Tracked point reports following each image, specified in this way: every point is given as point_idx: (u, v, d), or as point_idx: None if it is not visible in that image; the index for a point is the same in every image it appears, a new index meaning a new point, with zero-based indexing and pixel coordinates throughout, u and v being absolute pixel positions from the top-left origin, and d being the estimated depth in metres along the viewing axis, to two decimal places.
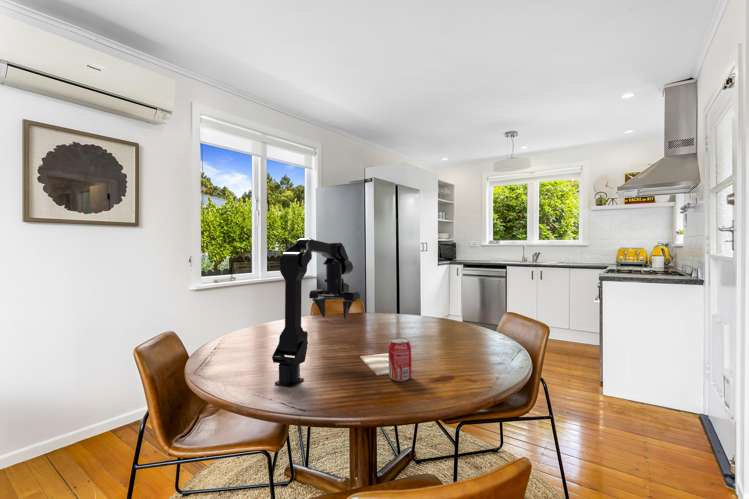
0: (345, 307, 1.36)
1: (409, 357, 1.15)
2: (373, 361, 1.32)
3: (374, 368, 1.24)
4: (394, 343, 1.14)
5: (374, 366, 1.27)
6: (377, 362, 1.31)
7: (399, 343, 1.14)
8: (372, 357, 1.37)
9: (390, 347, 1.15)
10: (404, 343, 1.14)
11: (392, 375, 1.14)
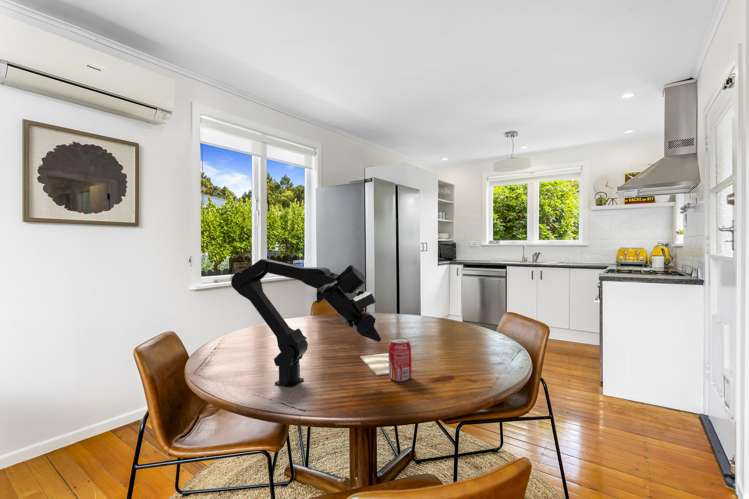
0: None
1: (409, 357, 1.15)
2: (373, 361, 1.32)
3: (374, 368, 1.24)
4: (394, 343, 1.14)
5: (374, 366, 1.27)
6: (377, 362, 1.31)
7: (399, 343, 1.14)
8: (372, 357, 1.37)
9: (390, 347, 1.15)
10: (404, 343, 1.14)
11: (392, 375, 1.14)
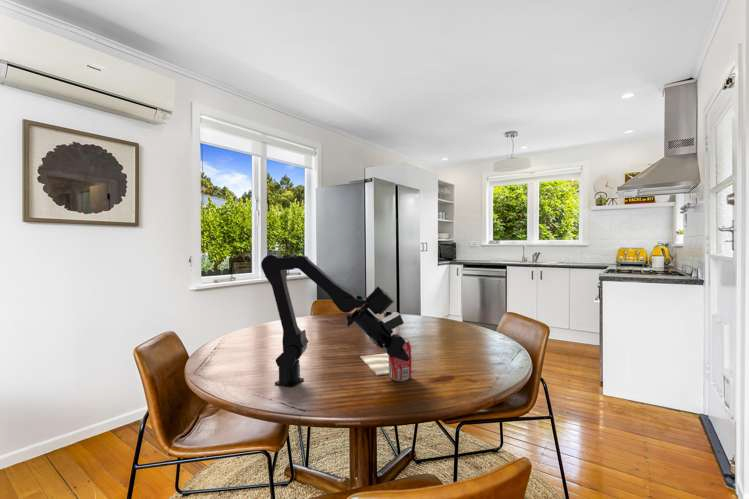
0: (395, 357, 1.11)
1: (409, 357, 1.15)
2: (373, 361, 1.32)
3: (374, 368, 1.24)
4: None
5: (374, 366, 1.27)
6: (377, 362, 1.31)
7: None
8: (372, 357, 1.37)
9: None
10: (404, 343, 1.14)
11: (392, 375, 1.14)
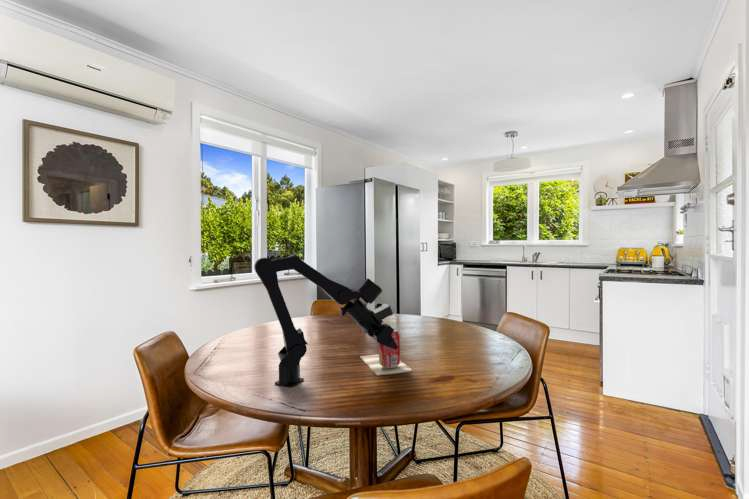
0: (384, 345, 1.19)
1: (398, 346, 1.23)
2: (373, 361, 1.32)
3: (374, 368, 1.24)
4: None
5: (374, 366, 1.27)
6: (377, 362, 1.31)
7: None
8: (372, 357, 1.37)
9: None
10: (393, 332, 1.23)
11: (381, 362, 1.23)
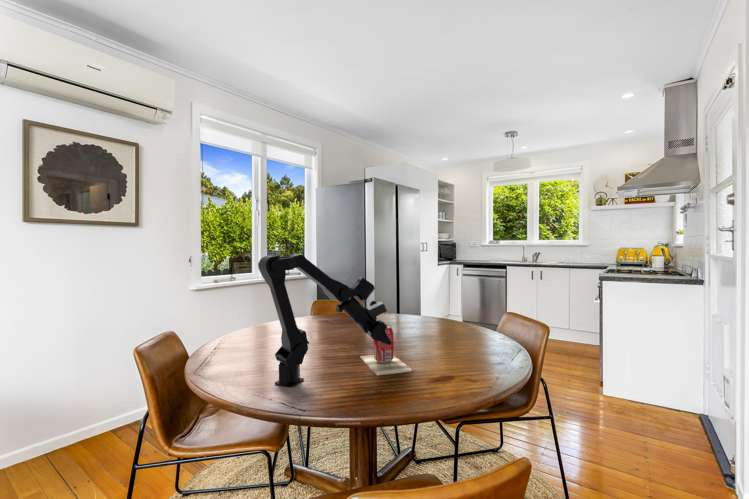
0: (378, 340, 1.26)
1: (391, 341, 1.29)
2: (373, 361, 1.32)
3: (374, 368, 1.24)
4: None
5: (374, 366, 1.27)
6: (377, 362, 1.31)
7: None
8: (372, 357, 1.37)
9: None
10: (387, 329, 1.29)
11: (376, 357, 1.29)
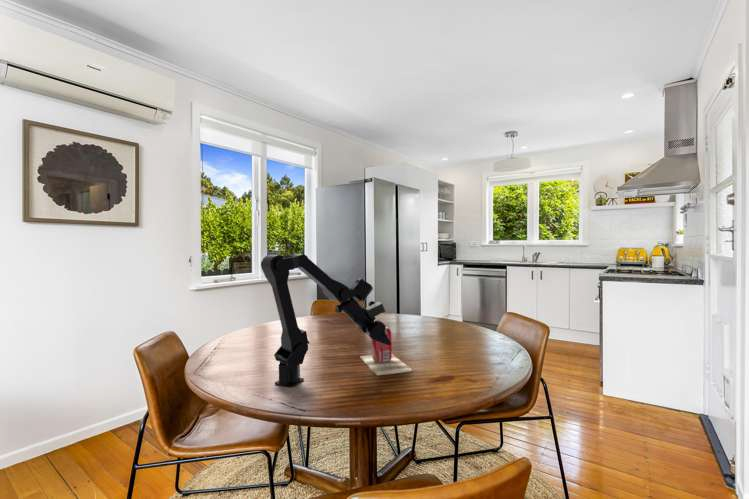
0: (378, 341, 1.26)
1: None
2: (373, 361, 1.32)
3: (374, 368, 1.24)
4: None
5: (374, 366, 1.27)
6: (377, 362, 1.31)
7: None
8: None
9: None
10: (385, 329, 1.30)
11: (374, 357, 1.30)
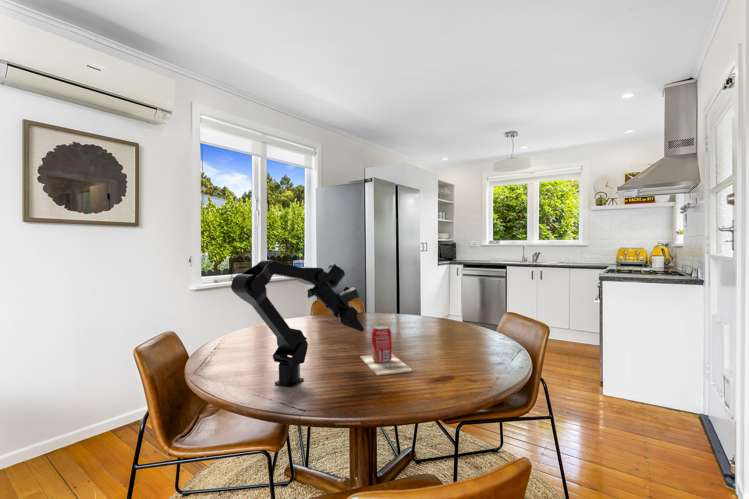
0: None
1: (389, 341, 1.31)
2: (373, 361, 1.32)
3: (374, 368, 1.24)
4: (376, 329, 1.30)
5: (374, 366, 1.27)
6: (377, 362, 1.31)
7: (380, 329, 1.30)
8: None
9: (373, 333, 1.31)
10: (385, 329, 1.30)
11: (374, 357, 1.30)
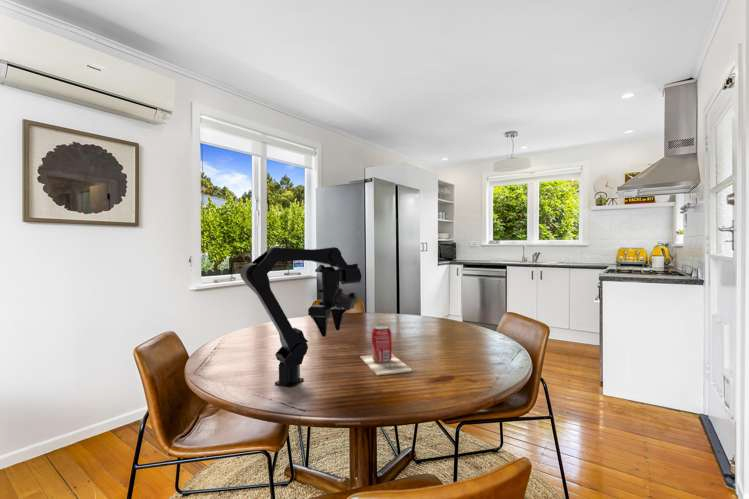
0: None
1: (389, 341, 1.31)
2: (373, 361, 1.32)
3: (374, 368, 1.24)
4: (376, 329, 1.30)
5: (374, 366, 1.27)
6: (377, 362, 1.31)
7: (380, 329, 1.30)
8: None
9: (373, 333, 1.31)
10: (385, 329, 1.30)
11: (374, 357, 1.30)
